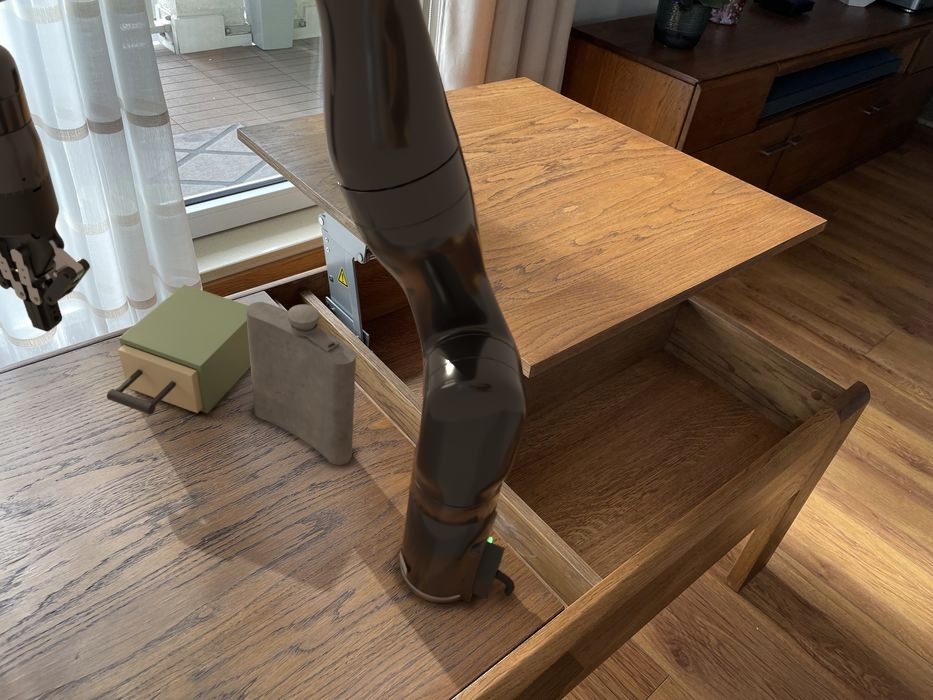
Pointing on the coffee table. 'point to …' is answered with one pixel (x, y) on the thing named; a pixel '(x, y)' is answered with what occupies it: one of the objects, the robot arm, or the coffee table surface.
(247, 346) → the cabinet
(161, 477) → the coffee table surface
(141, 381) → the drawer
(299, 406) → the hip flask
